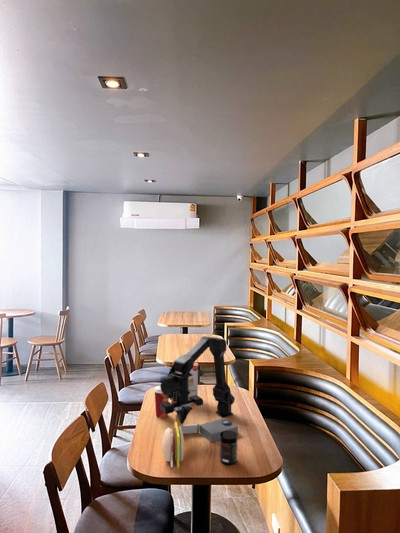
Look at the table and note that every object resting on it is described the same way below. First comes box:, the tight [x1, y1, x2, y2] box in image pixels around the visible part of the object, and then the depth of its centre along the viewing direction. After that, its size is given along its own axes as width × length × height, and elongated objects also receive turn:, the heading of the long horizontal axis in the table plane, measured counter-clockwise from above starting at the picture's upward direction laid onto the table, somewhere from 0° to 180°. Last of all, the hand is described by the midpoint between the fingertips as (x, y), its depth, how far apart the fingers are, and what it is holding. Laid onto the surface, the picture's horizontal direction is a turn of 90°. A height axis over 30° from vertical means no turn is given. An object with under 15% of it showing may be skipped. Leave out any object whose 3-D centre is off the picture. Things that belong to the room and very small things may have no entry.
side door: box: [174, 413, 200, 435], centre depth 163 cm, size 1×11×9 cm, turn 99°
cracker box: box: [170, 361, 199, 405], centre depth 198 cm, size 14×6×21 cm, turn 89°
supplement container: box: [219, 431, 239, 466], centre depth 142 cm, size 7×7×10 cm
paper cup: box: [153, 385, 170, 419], centre depth 181 cm, size 8×8×14 cm
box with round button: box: [198, 417, 239, 443], centre depth 164 cm, size 14×10×4 cm
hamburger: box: [161, 421, 185, 469], centre depth 143 cm, size 12×8×12 cm
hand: (181, 423), depth 160 cm, fingers closed
